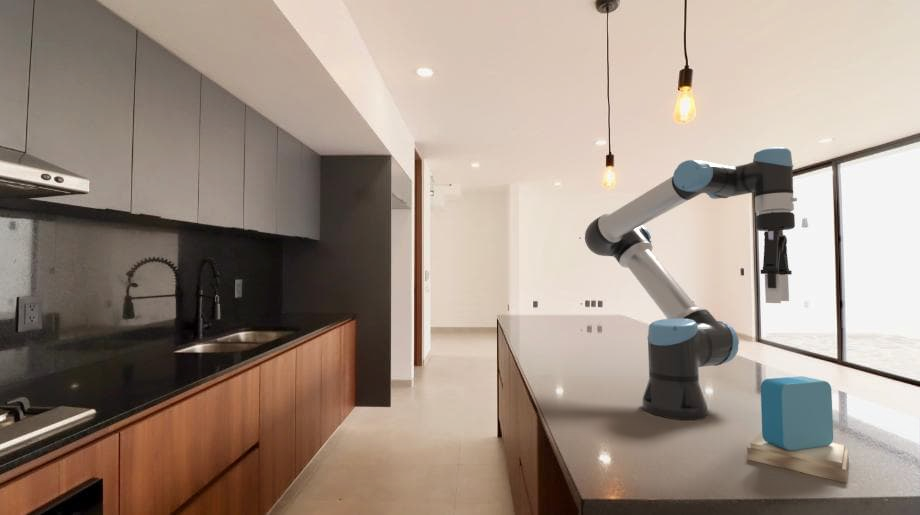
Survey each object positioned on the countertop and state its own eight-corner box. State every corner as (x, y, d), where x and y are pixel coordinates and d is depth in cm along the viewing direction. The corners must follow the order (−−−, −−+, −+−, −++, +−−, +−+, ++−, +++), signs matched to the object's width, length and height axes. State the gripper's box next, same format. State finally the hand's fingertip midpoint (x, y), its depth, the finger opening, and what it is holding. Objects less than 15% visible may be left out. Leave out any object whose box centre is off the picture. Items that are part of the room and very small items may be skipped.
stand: (747, 459, 82) (747, 443, 82) (758, 442, 91) (758, 427, 91) (846, 483, 72) (845, 464, 73) (848, 461, 81) (848, 445, 81)
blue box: (809, 437, 85) (806, 375, 86) (834, 445, 81) (831, 380, 82) (761, 443, 82) (759, 379, 83) (785, 452, 78) (782, 384, 78)
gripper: (786, 204, 93) (790, 304, 92) (800, 217, 111) (803, 300, 110) (745, 208, 98) (748, 303, 97) (764, 220, 116) (767, 299, 115)
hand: (777, 302), depth 103 cm, fingers open, 13 cm apart
